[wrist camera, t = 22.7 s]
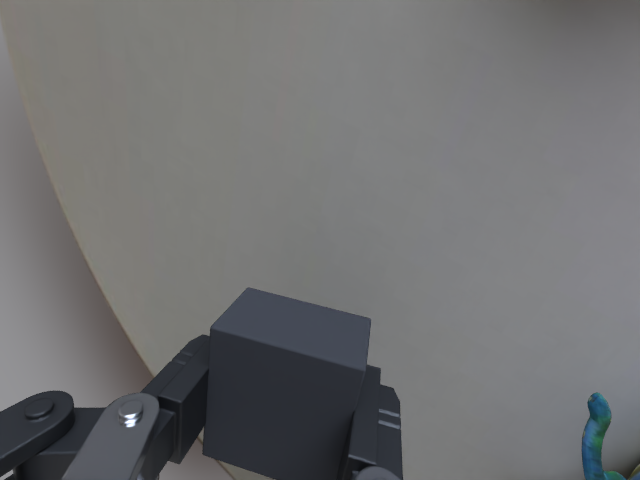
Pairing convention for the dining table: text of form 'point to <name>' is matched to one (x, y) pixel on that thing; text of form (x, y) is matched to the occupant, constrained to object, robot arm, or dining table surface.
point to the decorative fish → (598, 442)
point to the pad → (283, 385)
